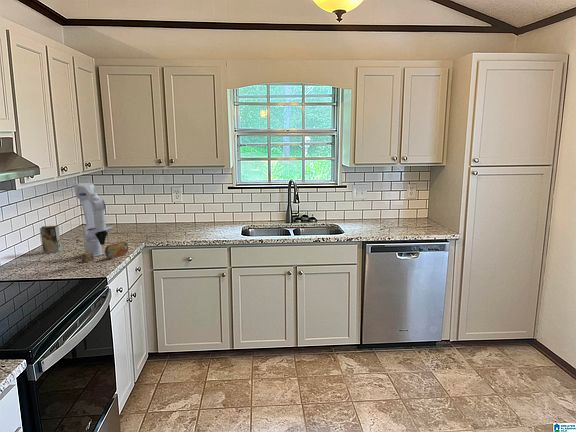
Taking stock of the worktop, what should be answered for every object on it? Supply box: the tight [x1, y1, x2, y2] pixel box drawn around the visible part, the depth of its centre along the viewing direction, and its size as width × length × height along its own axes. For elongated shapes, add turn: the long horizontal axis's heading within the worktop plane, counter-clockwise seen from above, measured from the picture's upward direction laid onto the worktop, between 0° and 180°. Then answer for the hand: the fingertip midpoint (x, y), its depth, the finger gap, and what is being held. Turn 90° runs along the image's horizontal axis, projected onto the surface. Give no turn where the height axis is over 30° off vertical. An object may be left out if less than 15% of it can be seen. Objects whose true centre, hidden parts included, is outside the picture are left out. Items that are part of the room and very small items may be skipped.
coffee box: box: [39, 225, 62, 254], centre depth 265 cm, size 9×6×16 cm
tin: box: [104, 241, 129, 260], centre depth 250 cm, size 15×3×8 cm, turn 153°
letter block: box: [80, 252, 95, 263], centre depth 243 cm, size 5×4×5 cm
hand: (102, 244), depth 241 cm, fingers closed
